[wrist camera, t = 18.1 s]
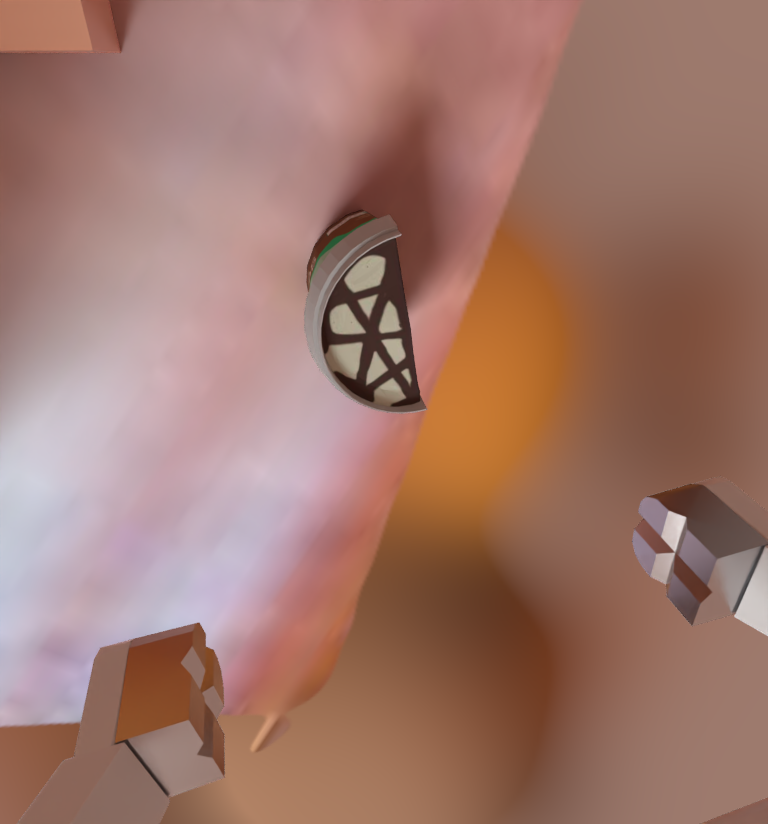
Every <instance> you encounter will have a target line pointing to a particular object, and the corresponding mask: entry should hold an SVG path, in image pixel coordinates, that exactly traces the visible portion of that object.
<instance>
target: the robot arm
mask: <svg viewBox="0 0 768 824" xmlns="http://www.w3.org/2000/svg"><path fill="white" fill-rule="evenodd" d="M639 513H640V515H641V516H642V517H643V520H642V521H641V522H640V523H639V524H638V526H637V527H636V528H635V529H634V534H633V540H632V542H633V546H634V550H635V554H636V557H637V559H638V560H639V562H640V564H641V566H642V567H643V568H644V570H645V571H646V572H647V573H648V575H649V576H650V577H652V578H654V579H656V580H658V581H660V582H662V583H664V584H666V594H667V597H668V598H669V600H670V601H671V602H672V603H673V604H674V606H675V607H676V608H677V609H678V610H679V611H680V613H681V614H682V615H683V616H684V617H685V619H686V620H687V621H688V622H689V623H690V624H691V626H695V625H699V624H702V623H706V622H709V621H713V620H716V619H720V618H723V617H726V616H730V615H733V614H735V616H734V617H736V618H737V619H739V620H741V621H743V622H744V623H746V624H748V625H749V626H751V627H753V628H755V629H756V630H758V631H760V632H762V633H763V634H765V635H767V636H768V511H767V510H765V509H764V508H763V507H761V506H760V505H759V504H758V503H757V502H756V501H754V500H753V499H752V498H751V497H749V496H748V495H747V494H746V493H744V492H743V491H742V490H741V489H740V488H738V487H737V486H736V485H735V484H733V483H732V482H731V481H729V480H728V479H726V478H723V477H720V476H719V477H715V478H711V479H707V480H704V481H701V482H697V483H694V484H688V485H684V486H681V487H677V488H674V489H670V490H667V491H664V492H660V493H657V494H654V495H650V496H647V497H645V498H644V500H642V501H641V503H640V507H639ZM223 708H224V687H223V680H222V673H221V668H220V665H219V661H218V658H217V656H216V654H215V652H214V650H213V649H210V648H208V647H206V634H205V632H204V630H203V628H202V626H201V625H200V623H195V624H191V625H187V626H183V627H179V628H175V629H171V630H167V631H163V632H159V633H155V634H151V635H147V636H143V637H139V638H135V639H131V640H128V641H124V642H120V643H117V644H113V645H109V646H105V647H102V648H100V650H99V652H98V653H97V655H96V657H95V659H94V663H93V667H92V672H91V677H90V682H89V686H88V691H87V696H86V701H85V705H84V710H83V715H82V720H81V725H80V729H79V735H78V739H77V744H76V749H75V753H74V757H72V758H69V759H66V760H63V761H62V763H61V764H60V765H59V767H58V768H57V770H56V771H55V772H54V774H53V775H52V776H51V778H50V779H49V780H48V782H47V783H46V785H45V786H44V787H43V789H42V790H41V792H40V793H39V794H38V795H37V797H36V798H35V800H34V801H33V802H32V804H31V805H30V806H29V808H28V809H27V810H26V812H25V813H24V815H23V816H22V817H21V819H20V820H19V821H18V823H17V824H160V821H161V819H162V817H163V815H164V813H165V811H166V809H167V807H168V805H169V802H170V799H169V797H171V796H174V795H177V794H180V793H183V792H186V791H189V790H191V789H194V788H197V787H200V786H203V785H205V784H208V783H211V782H214V781H217V780H219V779H222V778H225V776H224V775H225V771H224V770H225V769H224V768H225V761H224V760H225V757H224V756H225V755H224V754H225V753H224V733H223V730H222V729H221V727H220V725H219V723H218V721H217V718H218V716H219V714H220V713H221V711H222V709H223ZM700 824H768V797H767V798H765V799H762V800H760V801H757V802H754V803H752V804H750V805H747V806H744V807H742V808H739V809H736V810H734V811H731V812H729V813H726V814H724V815H721V816H718V817H716V818H713V819H711V820H708V821H706V822H703V823H700Z"/></svg>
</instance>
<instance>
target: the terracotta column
mask: <svg viewBox="0 0 768 824" xmlns="http://www.w3.org/2000/svg"><path fill="white" fill-rule="evenodd" d="M0 52H2V53H121V51H120V47H119V42H118V38H117V33H116V29H115V25H114V20H113V16H112V11H111V7H110V2H109V0H0Z"/></svg>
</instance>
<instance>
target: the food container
mask: <svg viewBox="0 0 768 824" xmlns="http://www.w3.org/2000/svg"><path fill="white" fill-rule="evenodd" d="M399 236H402V234H401V233H400V232H399V231H398V227H397V225H396V223H395V222H394V220H393V219H392V217H391V216H390V214H389V215H386V216H383V217H380V218H376V217H374V216H373V215H371V214H369V213H367V212H366V211H364V210H360V211H357V212H354V213H351V214H348V215H346V216H345V217H343V218H342V219H340V220H339V221H338V222H336V223H335V224H333V225H332V226H330V227H329V228H328V229H327V230H326V231H325V233H324V234H323V235H322V237H321V238H320V239H319V241H318V242H317V243H316V244H315V246H314V248H313V251H312V254H311V257H310V260H309V263H308V265H307V288H308V295H307V299H306V306H305V312H304V328H305V334H306V340H307V345H308V347H309V350H310V352H311V355H312V358H313V359H314V361H315V363H316V364H317V366H318V368H319V369H320V371H321V372H322V373H323V374H324V375H325V377H326V378H327V379H328V380H329V381H330V382H331V383H332V384H333V385H334V386H335V388H336V389H338V390H339V391H340V392H341V393H343V394H344V395H345V396H346V397H348V398H349V399H351V400H353V401H355V402H356V403H358V404H361V405H363V406H366V407H368V408H371V409H374V410H377V411H382V412H387V413H401V414H402V413H414V412H419V411H424V410H427V408H426V406H425V404H424V402H423V400H422V398H421V396H420V390H419V387H418V382H417V375H416V368H415V361H414V354H413V346H412V337H411V328H410V323H409V317H408V312H407V306H406V300H405V294H404V288H403V282H402V276H401V269H400V263H399V256H398V250H397V244H396V237H399Z"/></svg>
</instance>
